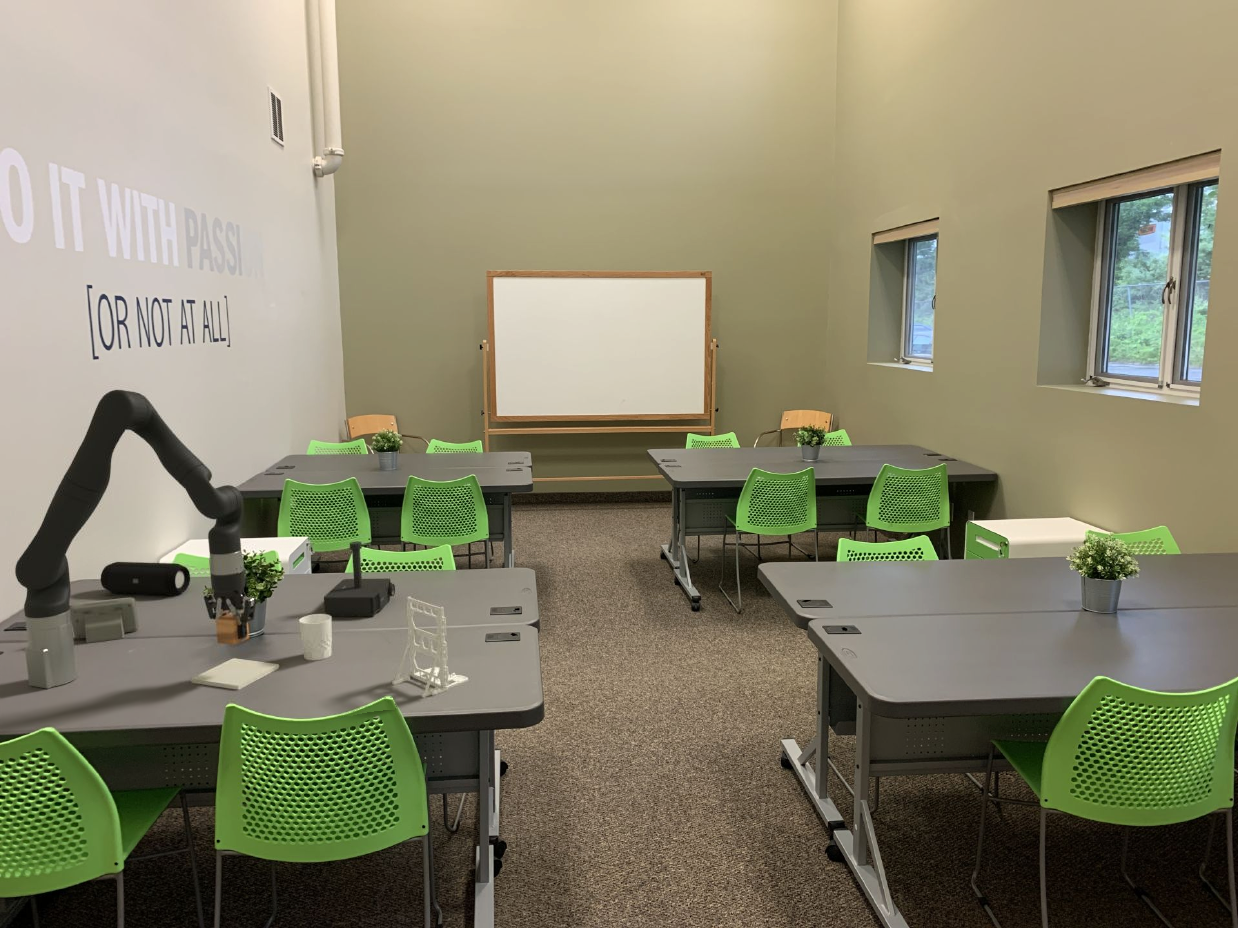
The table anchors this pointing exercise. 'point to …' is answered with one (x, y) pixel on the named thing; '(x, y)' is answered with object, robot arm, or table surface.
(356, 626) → the table surface
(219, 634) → the orange block
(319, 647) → the white cup
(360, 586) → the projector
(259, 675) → the pad
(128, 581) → the portable speaker
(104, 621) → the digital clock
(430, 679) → the film strip holder
